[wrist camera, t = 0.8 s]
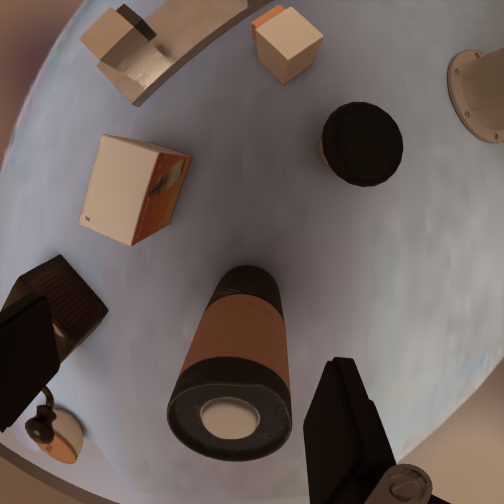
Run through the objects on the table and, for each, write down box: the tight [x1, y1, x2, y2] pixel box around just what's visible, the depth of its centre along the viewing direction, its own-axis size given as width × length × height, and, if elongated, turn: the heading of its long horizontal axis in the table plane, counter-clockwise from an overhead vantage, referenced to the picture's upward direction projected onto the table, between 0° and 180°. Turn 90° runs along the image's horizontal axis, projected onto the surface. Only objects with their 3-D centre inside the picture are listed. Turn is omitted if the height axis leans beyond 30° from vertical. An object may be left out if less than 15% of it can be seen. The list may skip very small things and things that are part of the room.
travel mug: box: [167, 266, 292, 462], centre depth 25 cm, size 8×8×20 cm
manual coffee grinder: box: [1, 255, 108, 444], centre depth 28 cm, size 16×11×18 cm
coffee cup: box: [318, 102, 403, 187], centre depth 25 cm, size 7×7×10 cm
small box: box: [79, 134, 191, 246], centre depth 27 cm, size 8×6×10 cm
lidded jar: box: [34, 409, 83, 464], centre depth 40 cm, size 11×11×9 cm
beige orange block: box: [251, 5, 324, 85], centre depth 24 cm, size 5×4×8 cm
